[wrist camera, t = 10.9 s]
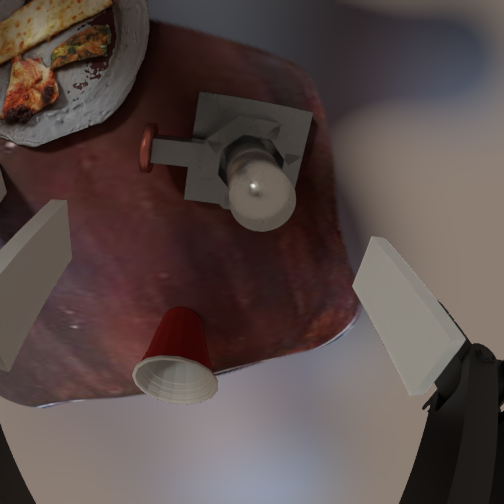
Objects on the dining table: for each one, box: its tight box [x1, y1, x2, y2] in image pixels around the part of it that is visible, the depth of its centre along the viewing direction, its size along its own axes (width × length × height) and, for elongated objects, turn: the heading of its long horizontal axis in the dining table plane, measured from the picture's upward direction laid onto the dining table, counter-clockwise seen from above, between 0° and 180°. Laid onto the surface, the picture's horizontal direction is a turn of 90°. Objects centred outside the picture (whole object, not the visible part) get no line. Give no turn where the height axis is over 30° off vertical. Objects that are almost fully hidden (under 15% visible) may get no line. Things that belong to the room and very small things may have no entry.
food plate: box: [0, 0, 150, 147], centre depth 24 cm, size 25×23×4 cm
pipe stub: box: [225, 135, 296, 232], centre depth 27 cm, size 4×4×14 cm
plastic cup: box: [132, 307, 218, 404], centre depth 41 cm, size 11×11×12 cm
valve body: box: [139, 92, 313, 210], centre depth 31 cm, size 12×16×7 cm
